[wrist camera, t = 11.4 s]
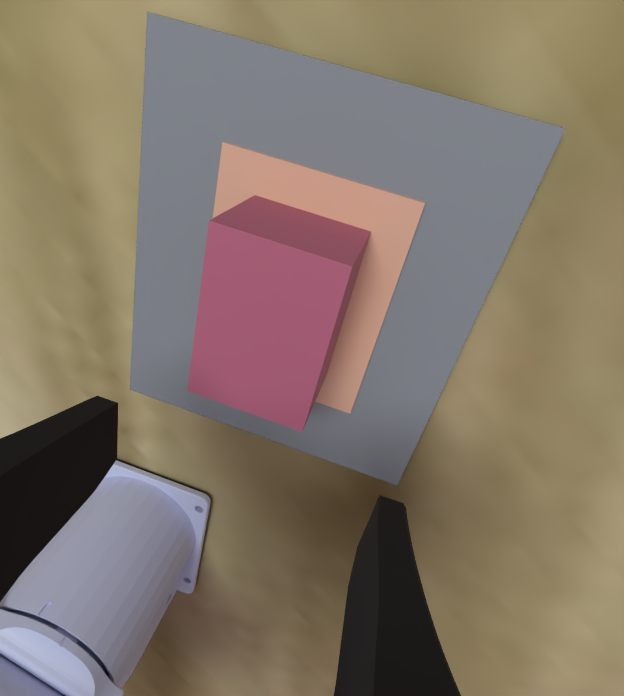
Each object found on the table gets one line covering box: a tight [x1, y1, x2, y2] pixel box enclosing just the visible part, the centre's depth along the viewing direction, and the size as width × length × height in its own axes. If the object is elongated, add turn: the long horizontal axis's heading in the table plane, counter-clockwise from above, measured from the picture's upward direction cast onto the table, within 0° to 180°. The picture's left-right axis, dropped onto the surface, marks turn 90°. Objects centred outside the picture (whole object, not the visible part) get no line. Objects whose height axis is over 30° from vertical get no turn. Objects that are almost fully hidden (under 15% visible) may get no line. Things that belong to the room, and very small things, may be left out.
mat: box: [130, 12, 566, 486], centre depth 20 cm, size 16×14×1 cm
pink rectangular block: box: [187, 195, 371, 432], centre depth 18 cm, size 4×6×4 cm
